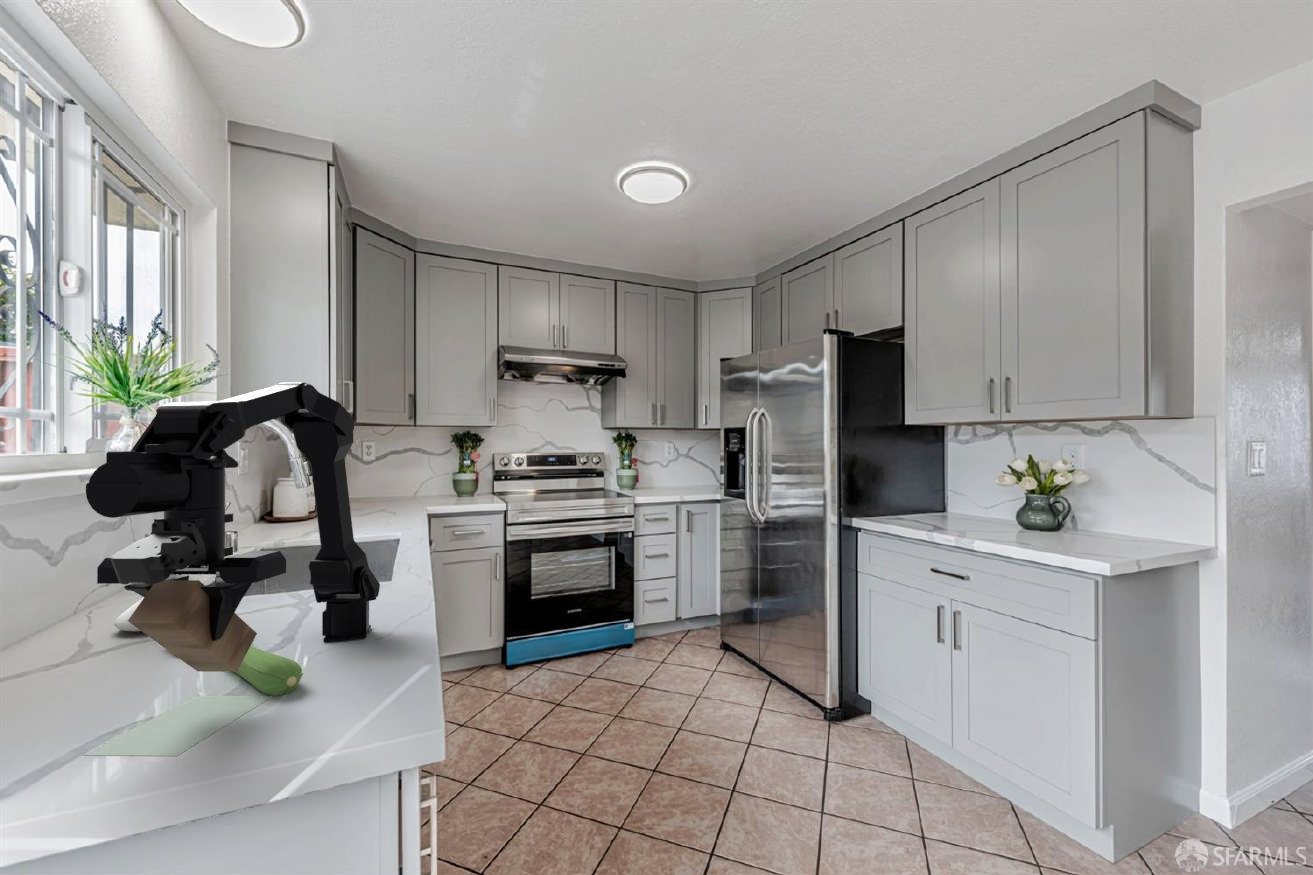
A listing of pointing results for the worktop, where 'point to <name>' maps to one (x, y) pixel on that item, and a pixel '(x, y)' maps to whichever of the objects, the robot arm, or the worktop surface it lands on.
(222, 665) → the walnut post
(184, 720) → the sage board
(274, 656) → the green zucchini
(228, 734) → the worktop surface
